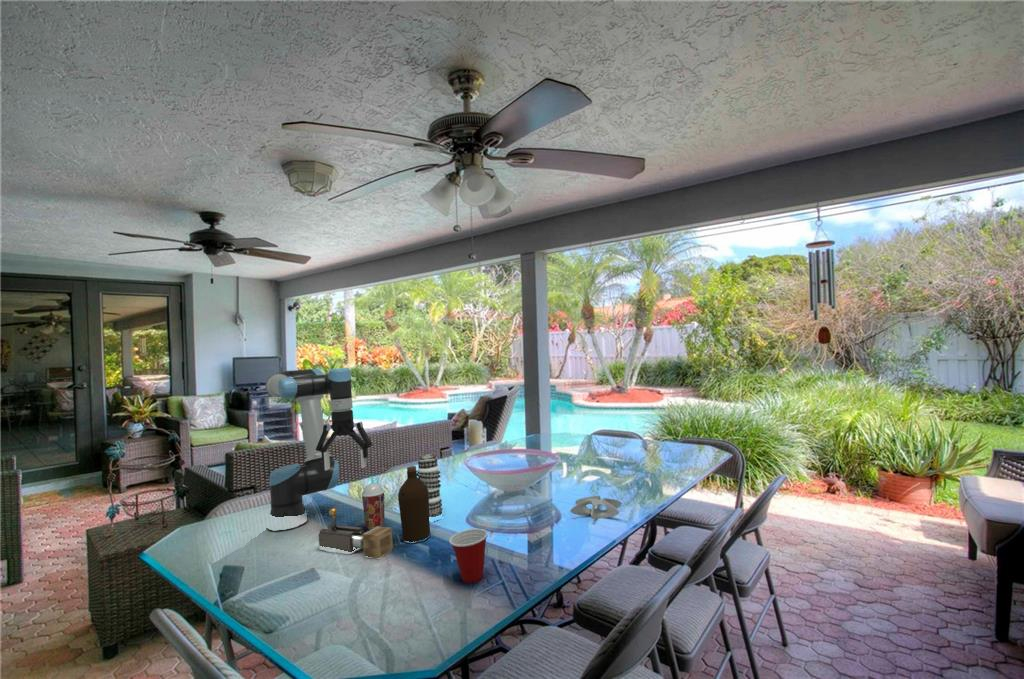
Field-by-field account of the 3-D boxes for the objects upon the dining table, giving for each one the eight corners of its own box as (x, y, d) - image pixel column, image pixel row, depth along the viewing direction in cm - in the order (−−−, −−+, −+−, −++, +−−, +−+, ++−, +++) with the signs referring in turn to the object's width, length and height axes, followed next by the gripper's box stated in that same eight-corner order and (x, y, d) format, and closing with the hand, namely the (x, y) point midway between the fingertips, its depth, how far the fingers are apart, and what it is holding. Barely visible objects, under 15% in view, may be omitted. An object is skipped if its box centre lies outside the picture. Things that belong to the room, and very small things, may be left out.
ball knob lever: (324, 545, 159) (322, 509, 159) (333, 541, 162) (330, 505, 163) (360, 550, 152) (357, 512, 153) (368, 545, 156) (365, 508, 156)
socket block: (364, 557, 149) (362, 534, 150) (378, 548, 156) (377, 526, 156) (378, 559, 147) (377, 535, 147) (393, 550, 153) (391, 527, 154)
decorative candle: (415, 522, 178) (410, 457, 179) (428, 514, 187) (423, 452, 188) (435, 524, 175) (430, 457, 176) (448, 515, 183) (443, 452, 184)
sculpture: (604, 529, 157) (602, 510, 157) (560, 517, 172) (559, 499, 172) (633, 514, 168) (632, 497, 169) (590, 504, 183) (589, 488, 184)
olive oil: (428, 543, 157) (423, 469, 158) (397, 545, 157) (392, 472, 158) (434, 531, 167) (429, 462, 168) (405, 533, 167) (400, 464, 168)
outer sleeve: (319, 550, 158) (318, 530, 158) (333, 543, 164) (332, 524, 164) (350, 555, 152) (349, 534, 152) (364, 547, 158) (363, 527, 158)
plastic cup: (449, 574, 133) (446, 532, 133) (486, 566, 136) (483, 525, 136) (455, 591, 122) (452, 545, 123) (495, 582, 125) (491, 538, 126)
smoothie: (391, 526, 177) (387, 473, 178) (376, 534, 169) (372, 479, 170) (374, 524, 180) (371, 472, 181) (359, 532, 173) (355, 478, 173)
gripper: (303, 413, 166) (307, 473, 165) (371, 409, 165) (375, 468, 164) (313, 411, 174) (317, 467, 173) (378, 406, 172) (382, 463, 172)
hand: (345, 468), depth 169 cm, fingers open, 13 cm apart
